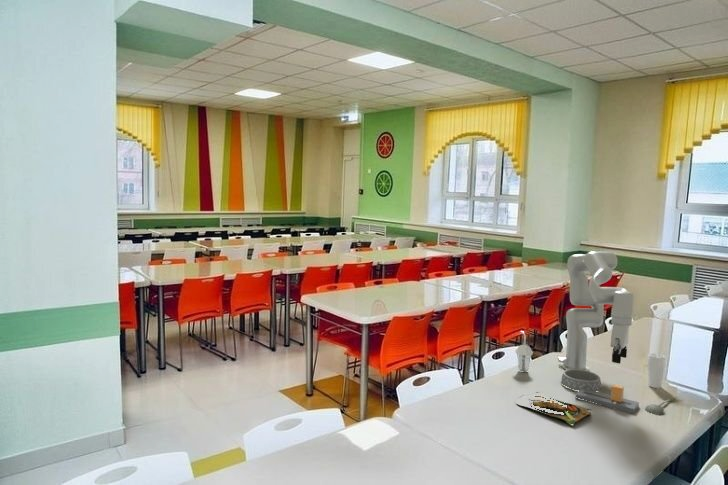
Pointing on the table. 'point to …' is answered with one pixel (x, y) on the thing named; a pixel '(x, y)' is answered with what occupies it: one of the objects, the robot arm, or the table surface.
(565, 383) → the dog bowl
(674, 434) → the table surface
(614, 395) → the fader knob
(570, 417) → the prepared meal
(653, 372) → the drinking glass
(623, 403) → the fader console
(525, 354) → the cup with straw
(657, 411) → the soupspoon
